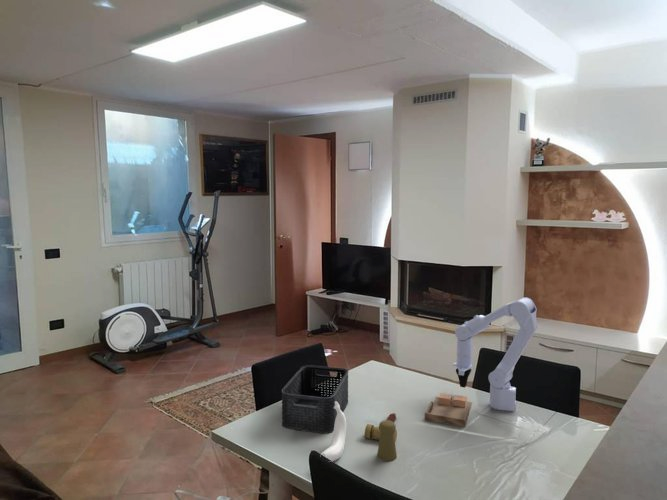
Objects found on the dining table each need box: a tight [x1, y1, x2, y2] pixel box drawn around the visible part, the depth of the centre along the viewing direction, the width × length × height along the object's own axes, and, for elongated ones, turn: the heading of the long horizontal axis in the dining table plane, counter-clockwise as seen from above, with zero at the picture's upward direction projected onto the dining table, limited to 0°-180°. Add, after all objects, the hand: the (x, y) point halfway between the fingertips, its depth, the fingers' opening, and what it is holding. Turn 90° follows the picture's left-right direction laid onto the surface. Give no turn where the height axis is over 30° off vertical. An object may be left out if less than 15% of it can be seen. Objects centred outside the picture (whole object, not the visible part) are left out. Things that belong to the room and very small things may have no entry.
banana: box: [320, 401, 347, 462], centre depth 144 cm, size 5×19×15 cm, turn 167°
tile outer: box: [437, 392, 453, 405], centre depth 182 cm, size 4×4×2 cm
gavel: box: [364, 412, 398, 443], centre depth 162 cm, size 21×5×10 cm
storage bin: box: [281, 364, 349, 434], centre depth 173 cm, size 29×19×13 cm
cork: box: [376, 419, 398, 462], centre depth 144 cm, size 6×6×11 cm
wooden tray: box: [424, 396, 473, 428], centre depth 174 cm, size 14×22×3 cm, turn 157°
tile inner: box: [452, 394, 468, 407], centre depth 180 cm, size 4×4×2 cm
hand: (463, 386), depth 188 cm, fingers closed
